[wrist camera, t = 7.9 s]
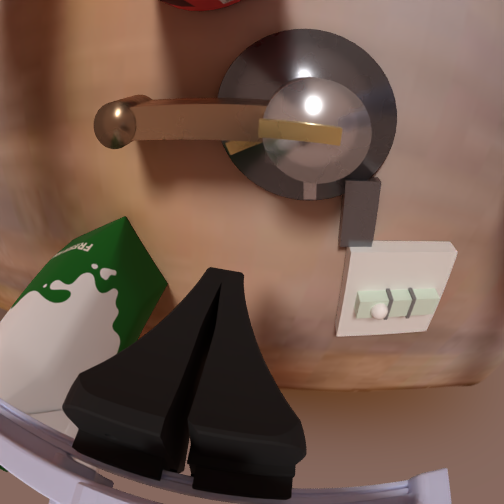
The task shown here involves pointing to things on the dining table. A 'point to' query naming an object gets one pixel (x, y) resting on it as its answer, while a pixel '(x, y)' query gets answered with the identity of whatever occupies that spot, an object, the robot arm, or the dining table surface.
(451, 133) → the dining table surface
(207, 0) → the canned food
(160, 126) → the round-headed metal tool
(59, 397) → the milk carton
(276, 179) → the dial base
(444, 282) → the stand board
